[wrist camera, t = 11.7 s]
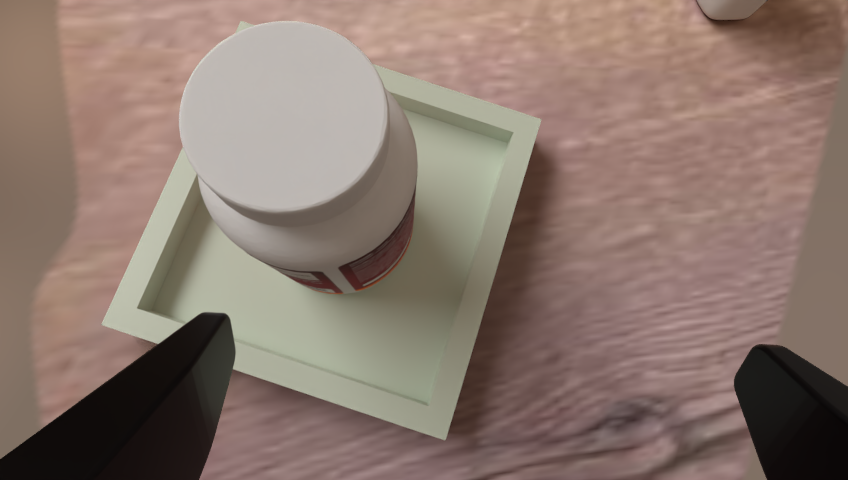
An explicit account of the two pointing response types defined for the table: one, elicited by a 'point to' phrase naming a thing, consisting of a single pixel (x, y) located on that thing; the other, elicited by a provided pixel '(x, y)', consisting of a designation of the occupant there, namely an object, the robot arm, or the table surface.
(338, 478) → the table surface
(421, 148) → the tray
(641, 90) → the table surface
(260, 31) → the pill bottle
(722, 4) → the eye dropper bottle
